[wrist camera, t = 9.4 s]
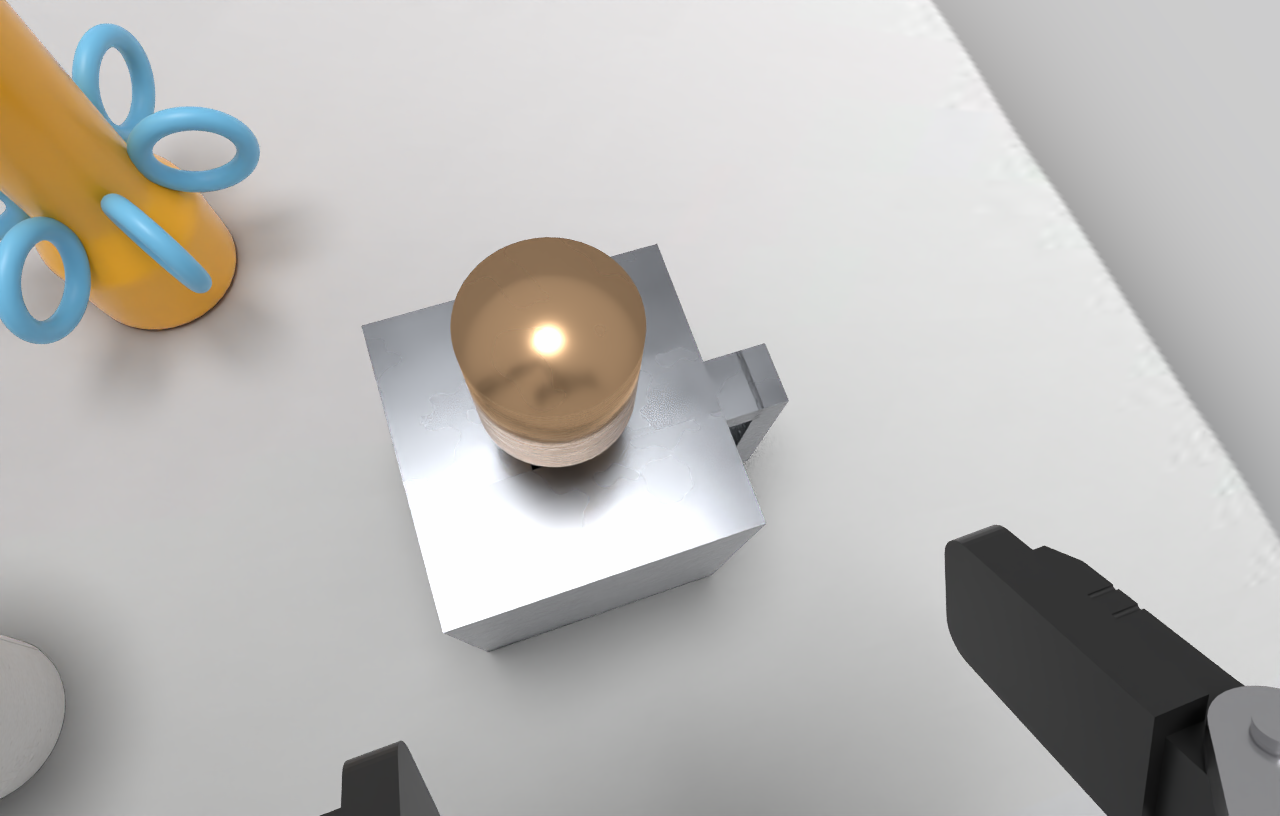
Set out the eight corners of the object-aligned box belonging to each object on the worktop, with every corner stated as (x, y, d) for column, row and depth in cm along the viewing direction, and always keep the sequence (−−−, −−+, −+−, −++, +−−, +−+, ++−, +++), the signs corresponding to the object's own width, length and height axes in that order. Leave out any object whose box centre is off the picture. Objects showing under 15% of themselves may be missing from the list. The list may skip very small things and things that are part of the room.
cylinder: (360, 266, 36) (216, -5, 22) (172, 446, 34) (-133, 265, 19) (163, 110, 38) (-85, -232, 24) (-32, 267, 35) (-445, -17, 21)
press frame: (488, 651, 32) (443, 633, 22) (427, 433, 34) (361, 325, 24) (770, 554, 34) (849, 495, 24) (692, 353, 36) (733, 222, 26)
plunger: (502, 612, 30) (424, 538, 16) (450, 435, 32) (340, 224, 18) (684, 550, 32) (768, 427, 17) (624, 382, 33) (653, 143, 19)
